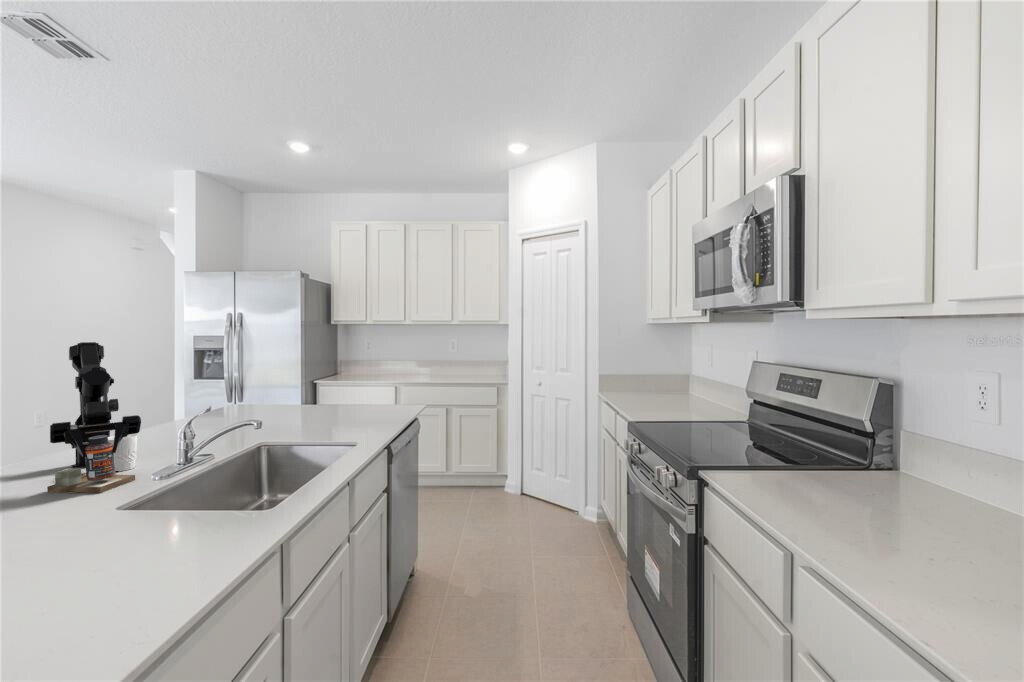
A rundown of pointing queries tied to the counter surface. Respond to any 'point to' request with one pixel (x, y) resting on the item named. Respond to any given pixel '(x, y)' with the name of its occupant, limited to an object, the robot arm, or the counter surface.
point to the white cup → (125, 452)
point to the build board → (85, 482)
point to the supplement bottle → (99, 458)
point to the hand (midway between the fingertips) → (99, 454)
